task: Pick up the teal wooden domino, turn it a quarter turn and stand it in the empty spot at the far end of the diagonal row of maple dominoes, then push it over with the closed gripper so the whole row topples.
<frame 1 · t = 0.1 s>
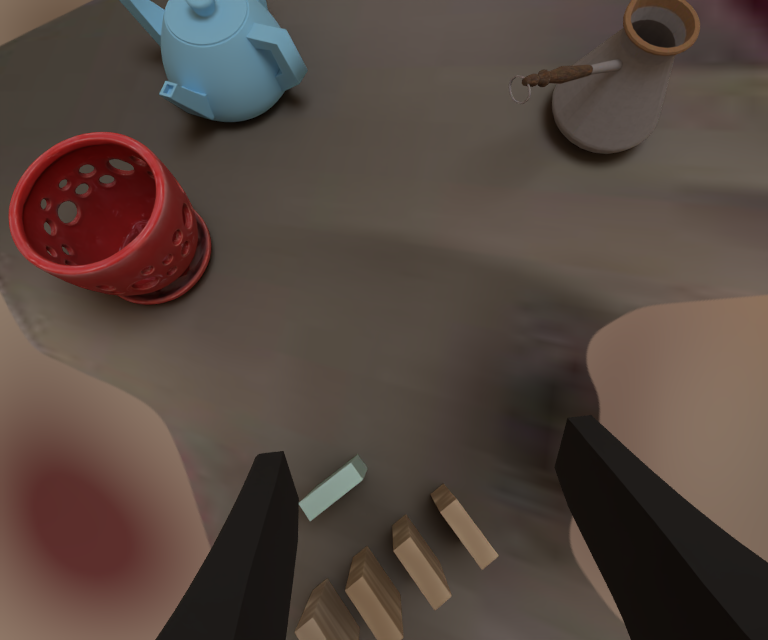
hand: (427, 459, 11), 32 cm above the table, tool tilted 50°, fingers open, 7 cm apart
coffee pot: (557, 141, 49), on the table
teapot: (235, 80, 52), on the table
plant pot: (161, 254, 47), on the table
domino 3: (415, 543, 40), on the table
teal domino: (341, 477, 41), on the table
domino 5: (336, 608, 39), on the table
domino 4: (376, 575, 40), on the table
domino 2: (453, 511, 41), on the table
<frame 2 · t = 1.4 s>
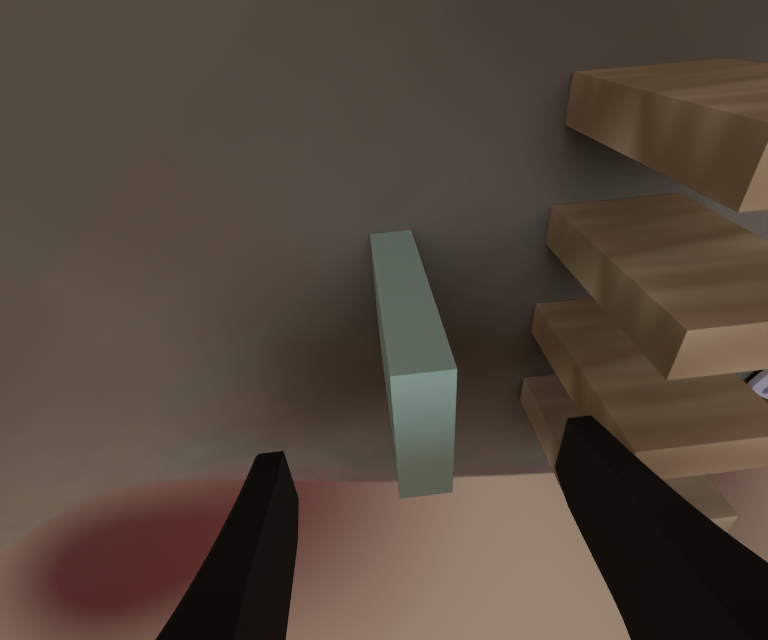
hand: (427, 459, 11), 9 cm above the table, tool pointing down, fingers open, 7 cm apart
domino 3: (610, 219, 17), on the table
teal domino: (394, 287, 18), on the table
domino 5: (569, 383, 22), on the table
domino 4: (587, 312, 20), on the table
domino 2: (641, 92, 15), on the table
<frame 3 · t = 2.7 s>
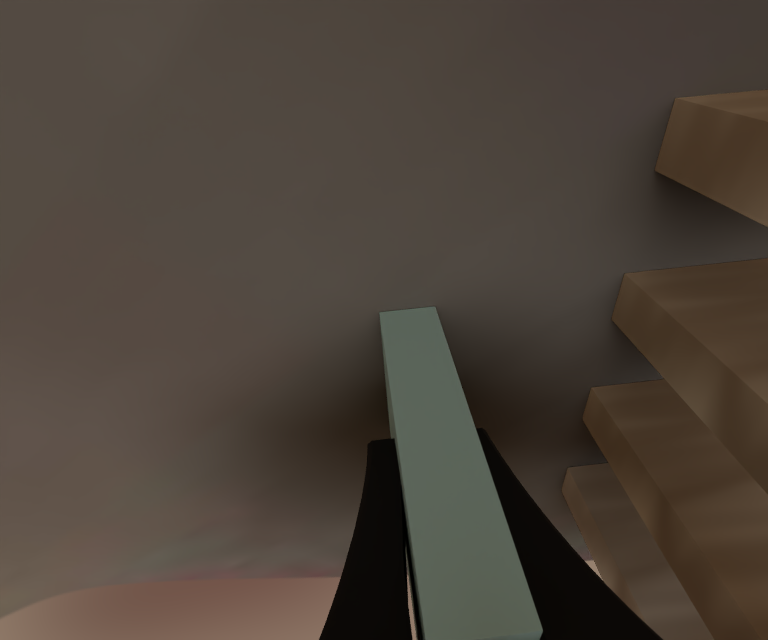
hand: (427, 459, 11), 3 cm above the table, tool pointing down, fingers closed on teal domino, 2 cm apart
domino 3: (699, 288, 13), on the table
teal domino: (410, 374, 14), on the table, touching gripper
domino 5: (623, 472, 18), on the table
domino 4: (655, 395, 16), on the table
domino 2: (767, 126, 10), on the table
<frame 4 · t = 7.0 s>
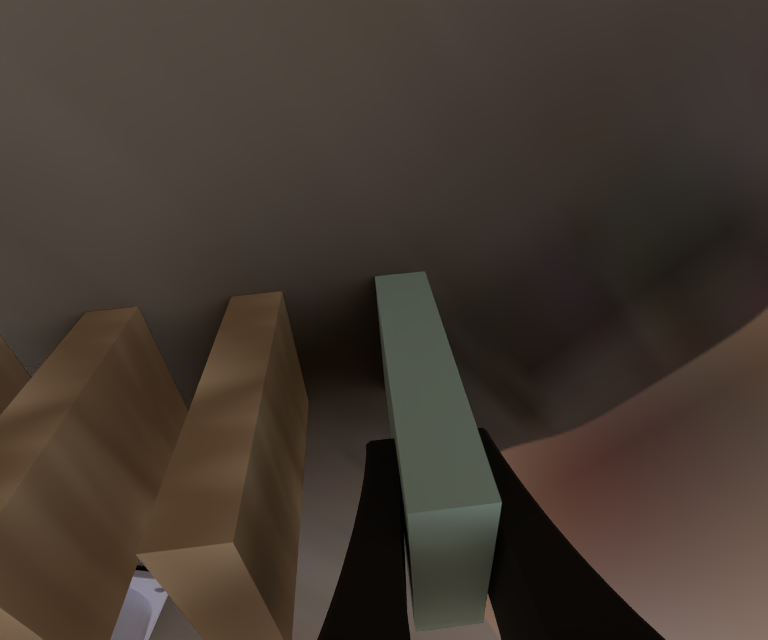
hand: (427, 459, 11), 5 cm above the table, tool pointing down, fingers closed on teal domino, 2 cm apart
domino 3: (143, 368, 15), on the table
teal domino: (403, 336, 15), on the table, touching gripper
domino 4: (9, 383, 15), on the table
domino 2: (273, 354, 15), on the table
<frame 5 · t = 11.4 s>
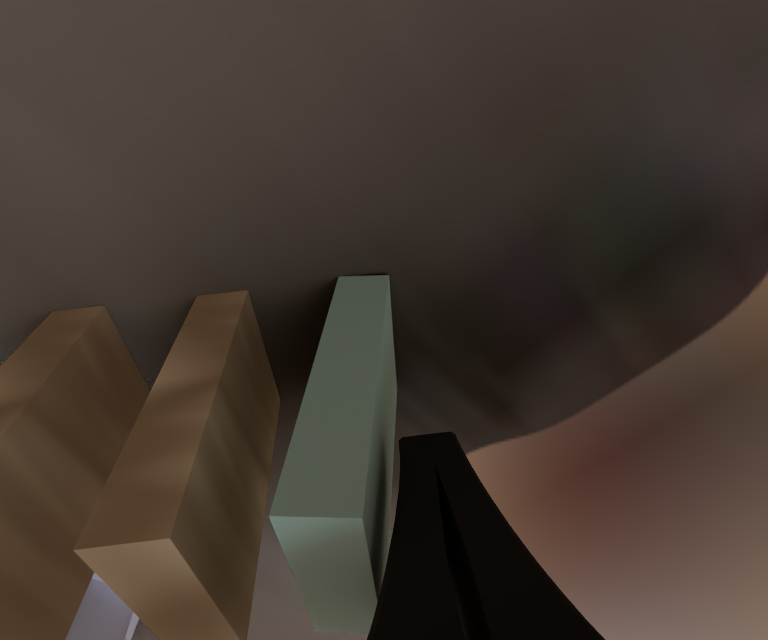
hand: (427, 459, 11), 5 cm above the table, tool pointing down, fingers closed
domino 3: (113, 367, 15), on the table
teal domino: (370, 337, 15), on the table, tilted 9°
domino 2: (242, 353, 15), on the table
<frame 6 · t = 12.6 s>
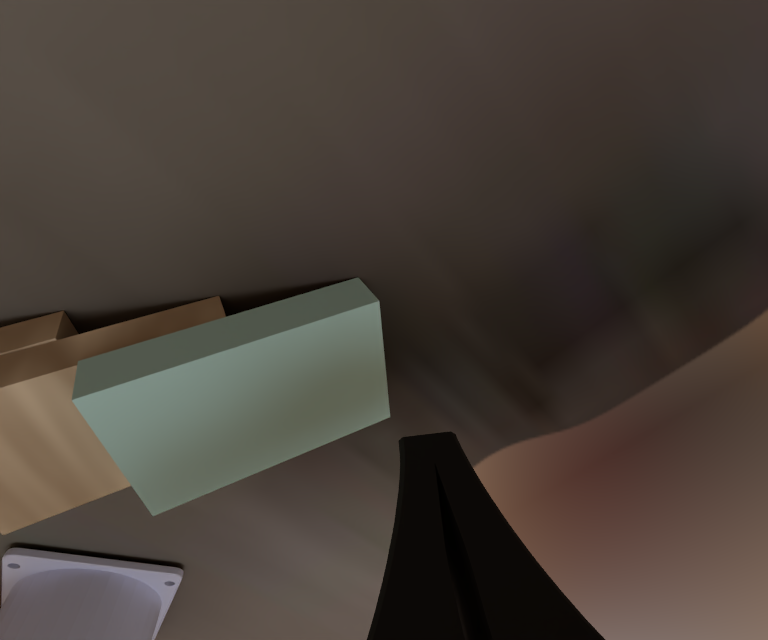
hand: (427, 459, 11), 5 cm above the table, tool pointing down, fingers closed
domino 3: (99, 383, 15), point 1 cm above the table, tilted 71°, touching domino 2, domino 4
teal domino: (375, 351, 15), point 1 cm above the table, tilted 70°, touching domino 2
domino 2: (243, 368, 15), point 1 cm above the table, tilted 70°, touching domino 3, teal domino
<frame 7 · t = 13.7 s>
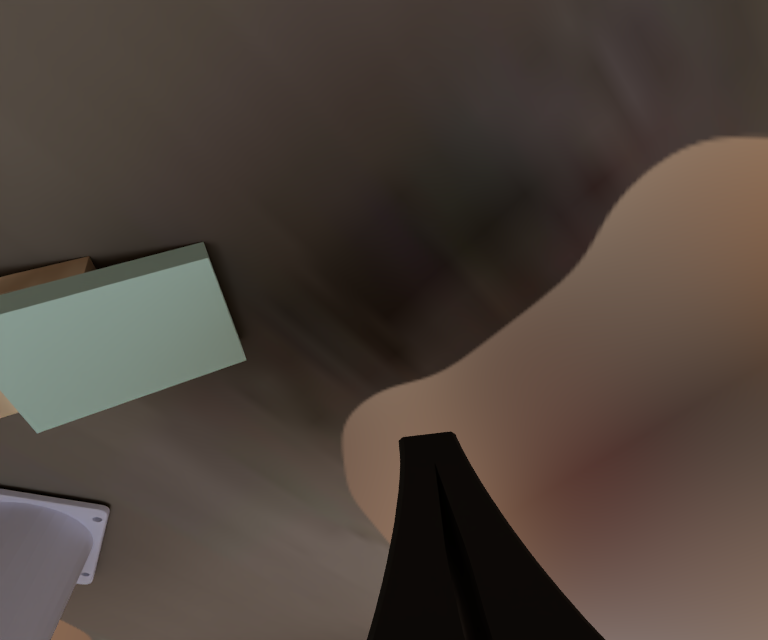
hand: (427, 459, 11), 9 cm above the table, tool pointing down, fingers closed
teal domino: (226, 303, 18), point 1 cm above the table, tilted 70°, touching domino 2
domino 2: (115, 317, 18), point 1 cm above the table, tilted 71°, touching teal domino
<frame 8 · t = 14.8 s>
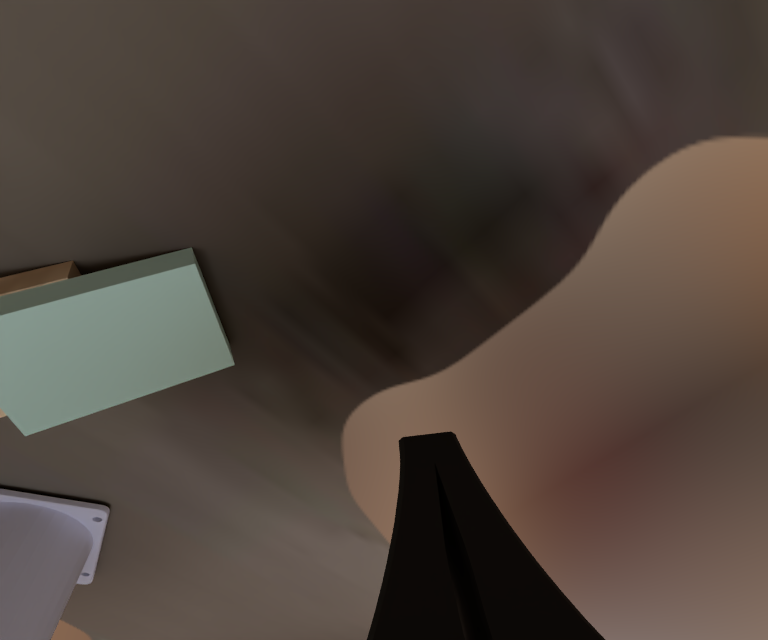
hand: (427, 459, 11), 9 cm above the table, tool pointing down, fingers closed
teal domino: (214, 308, 18), point 1 cm above the table, tilted 71°, touching domino 2
domino 2: (100, 321, 18), point 1 cm above the table, tilted 71°, touching teal domino
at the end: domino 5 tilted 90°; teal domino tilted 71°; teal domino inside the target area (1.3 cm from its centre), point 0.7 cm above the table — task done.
